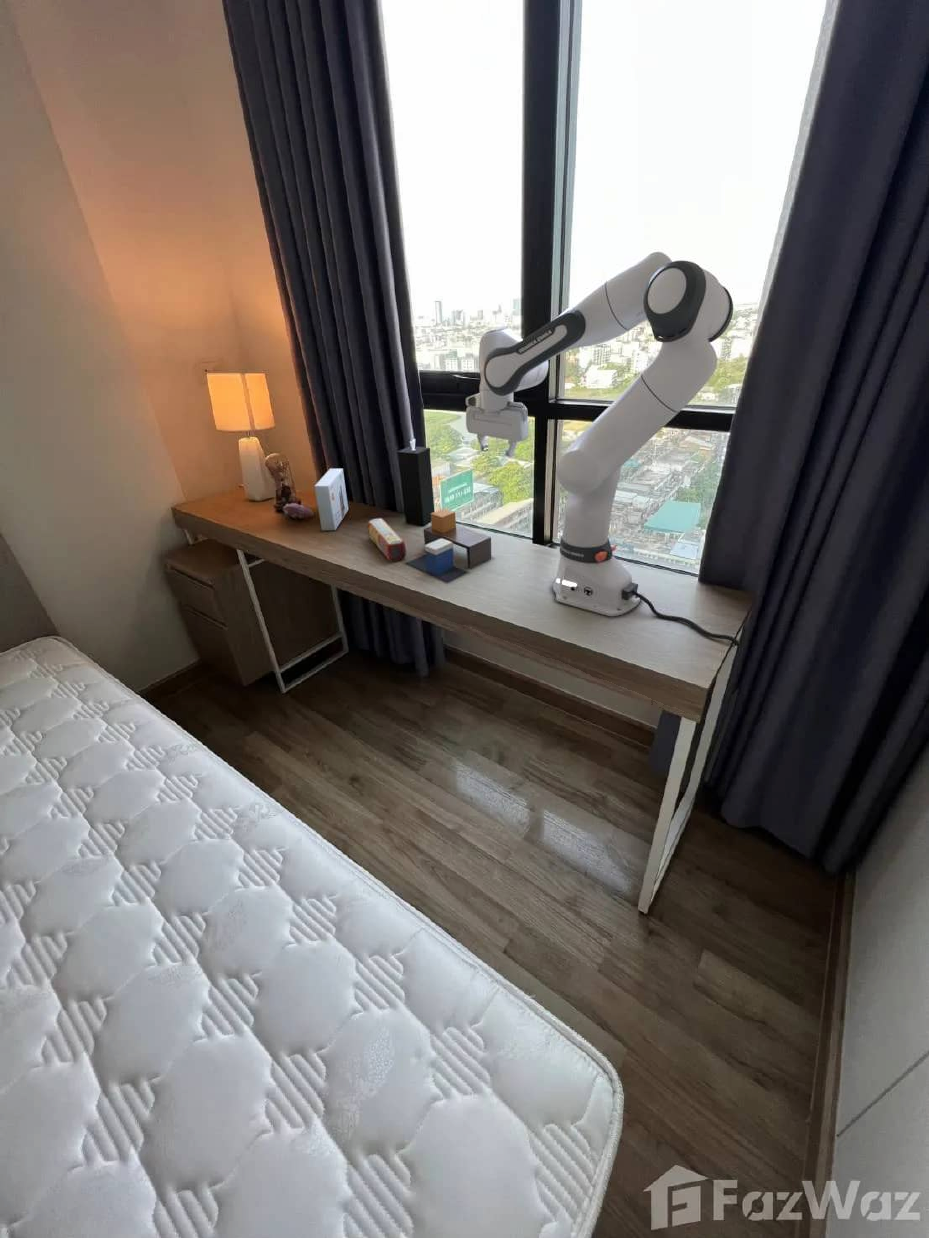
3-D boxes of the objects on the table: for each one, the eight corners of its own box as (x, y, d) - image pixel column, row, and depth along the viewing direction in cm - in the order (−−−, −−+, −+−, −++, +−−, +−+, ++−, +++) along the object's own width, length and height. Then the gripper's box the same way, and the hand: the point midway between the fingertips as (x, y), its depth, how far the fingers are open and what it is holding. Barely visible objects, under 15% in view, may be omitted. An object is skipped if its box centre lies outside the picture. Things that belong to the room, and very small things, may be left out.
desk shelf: (491, 558, 148) (491, 536, 144) (470, 569, 143) (469, 546, 139) (446, 541, 161) (444, 520, 157) (425, 550, 155) (423, 529, 152)
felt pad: (467, 572, 141) (467, 571, 141) (447, 582, 137) (447, 581, 137) (426, 554, 152) (426, 554, 152) (406, 563, 148) (406, 562, 148)
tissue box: (405, 523, 175) (395, 441, 160) (417, 515, 181) (409, 435, 166) (424, 526, 172) (416, 443, 157) (435, 518, 178) (429, 437, 162)
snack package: (408, 559, 151) (406, 538, 147) (388, 564, 148) (385, 543, 145) (386, 535, 167) (384, 515, 163) (367, 539, 165) (364, 519, 161)
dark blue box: (454, 567, 144) (452, 542, 139) (437, 575, 140) (435, 549, 136) (443, 563, 146) (441, 538, 142) (426, 570, 143) (424, 545, 138)
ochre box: (456, 527, 151) (455, 512, 149) (442, 533, 148) (441, 517, 146) (445, 523, 155) (444, 508, 152) (431, 529, 151) (430, 513, 149)
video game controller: (287, 521, 186) (278, 508, 180) (292, 512, 188) (283, 498, 182) (310, 523, 183) (302, 510, 177) (315, 513, 185) (307, 500, 179)
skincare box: (337, 530, 172) (328, 485, 163) (321, 531, 172) (312, 486, 164) (350, 509, 190) (343, 467, 181) (336, 509, 190) (328, 468, 181)
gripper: (535, 401, 126) (533, 457, 133) (477, 395, 138) (478, 446, 146) (519, 405, 122) (518, 462, 130) (461, 398, 135) (463, 450, 142)
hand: (496, 453), depth 138 cm, fingers open, 8 cm apart
